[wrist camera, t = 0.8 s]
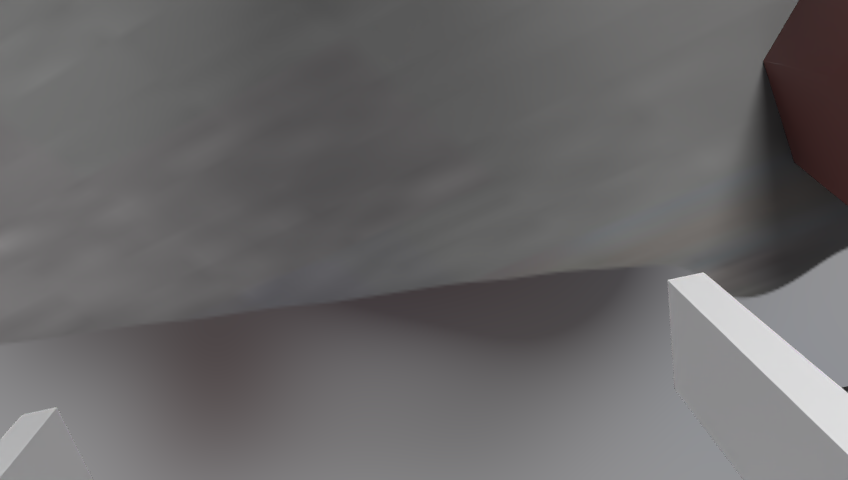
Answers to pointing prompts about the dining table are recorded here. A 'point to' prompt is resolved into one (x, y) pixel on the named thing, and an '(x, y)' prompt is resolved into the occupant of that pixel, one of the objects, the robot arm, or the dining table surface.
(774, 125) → the dining table surface
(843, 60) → the bucket
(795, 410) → the robot arm
